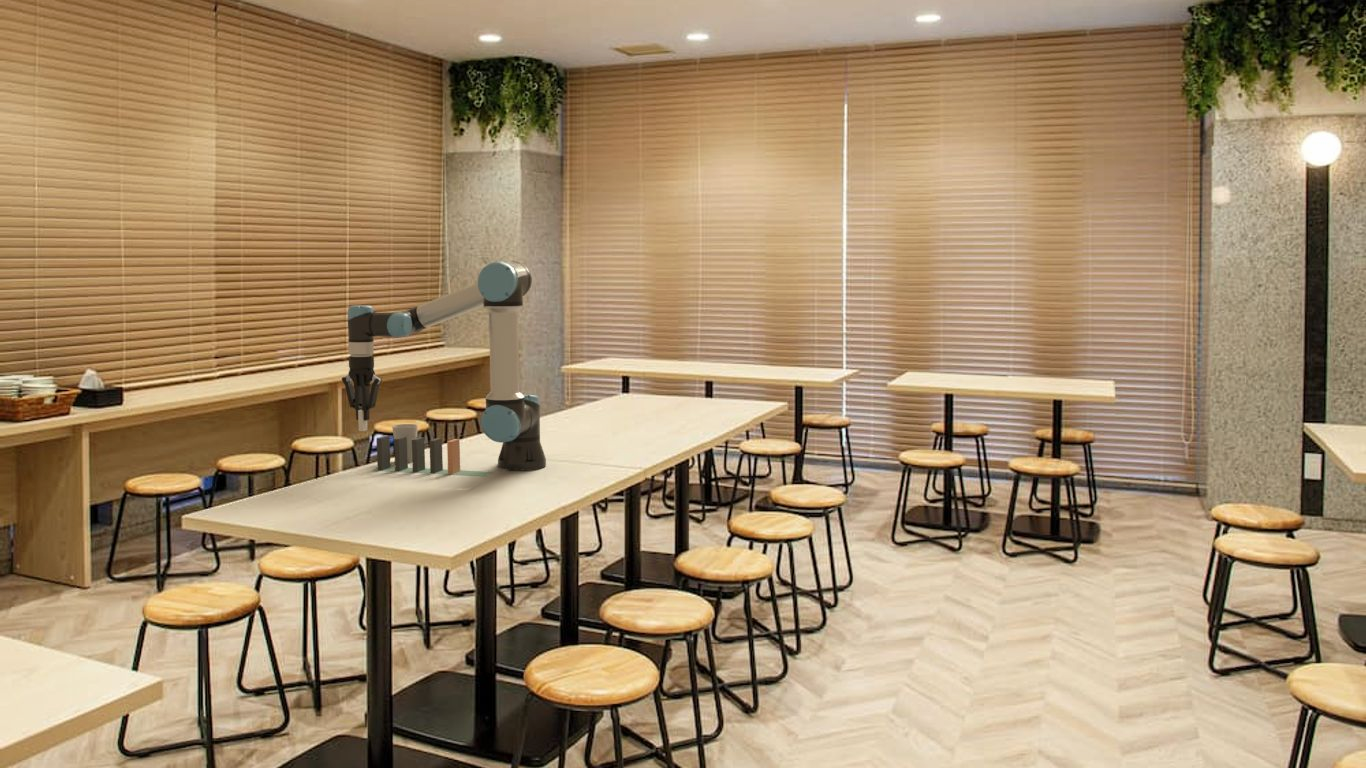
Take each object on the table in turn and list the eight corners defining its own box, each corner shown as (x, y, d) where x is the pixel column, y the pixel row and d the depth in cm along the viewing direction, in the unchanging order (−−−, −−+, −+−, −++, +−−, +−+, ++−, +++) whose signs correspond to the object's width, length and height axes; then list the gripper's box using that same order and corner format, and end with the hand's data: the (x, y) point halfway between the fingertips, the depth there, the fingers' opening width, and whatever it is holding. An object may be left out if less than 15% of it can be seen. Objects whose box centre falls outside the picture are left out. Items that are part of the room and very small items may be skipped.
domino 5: (460, 471, 333) (459, 439, 332) (452, 474, 328) (451, 441, 327) (455, 470, 333) (454, 438, 332) (448, 473, 328) (447, 441, 327)
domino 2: (407, 468, 337) (406, 436, 336) (399, 471, 332) (398, 439, 331) (403, 468, 338) (402, 436, 337) (395, 471, 333) (394, 439, 332)
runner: (493, 473, 331) (493, 472, 331) (484, 477, 324) (484, 476, 324) (382, 467, 341) (382, 466, 341) (371, 471, 334) (371, 470, 334)
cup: (412, 465, 344) (411, 428, 343) (389, 464, 346) (387, 427, 345) (423, 460, 352) (422, 424, 351) (400, 459, 354) (399, 423, 352)
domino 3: (425, 469, 336) (424, 437, 335) (417, 472, 331) (416, 440, 330) (420, 468, 336) (419, 437, 335) (412, 472, 331) (411, 439, 330)
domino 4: (442, 470, 334) (441, 438, 333) (435, 473, 330) (434, 440, 328) (438, 469, 335) (437, 438, 334) (430, 472, 330) (429, 440, 329)
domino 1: (390, 467, 339) (389, 435, 338) (382, 470, 334) (381, 438, 333) (385, 467, 339) (384, 435, 338) (377, 470, 334) (376, 438, 333)
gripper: (386, 355, 336) (388, 429, 339) (349, 353, 339) (351, 427, 342) (373, 357, 329) (375, 433, 332) (335, 355, 332) (337, 431, 335)
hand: (363, 430), depth 337 cm, fingers closed
